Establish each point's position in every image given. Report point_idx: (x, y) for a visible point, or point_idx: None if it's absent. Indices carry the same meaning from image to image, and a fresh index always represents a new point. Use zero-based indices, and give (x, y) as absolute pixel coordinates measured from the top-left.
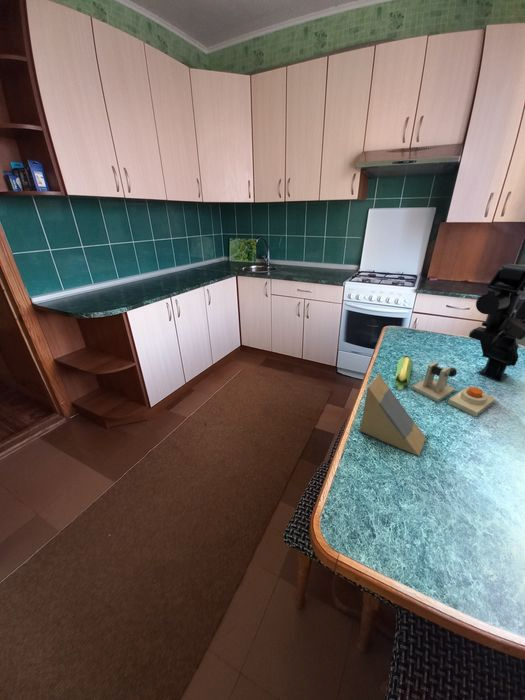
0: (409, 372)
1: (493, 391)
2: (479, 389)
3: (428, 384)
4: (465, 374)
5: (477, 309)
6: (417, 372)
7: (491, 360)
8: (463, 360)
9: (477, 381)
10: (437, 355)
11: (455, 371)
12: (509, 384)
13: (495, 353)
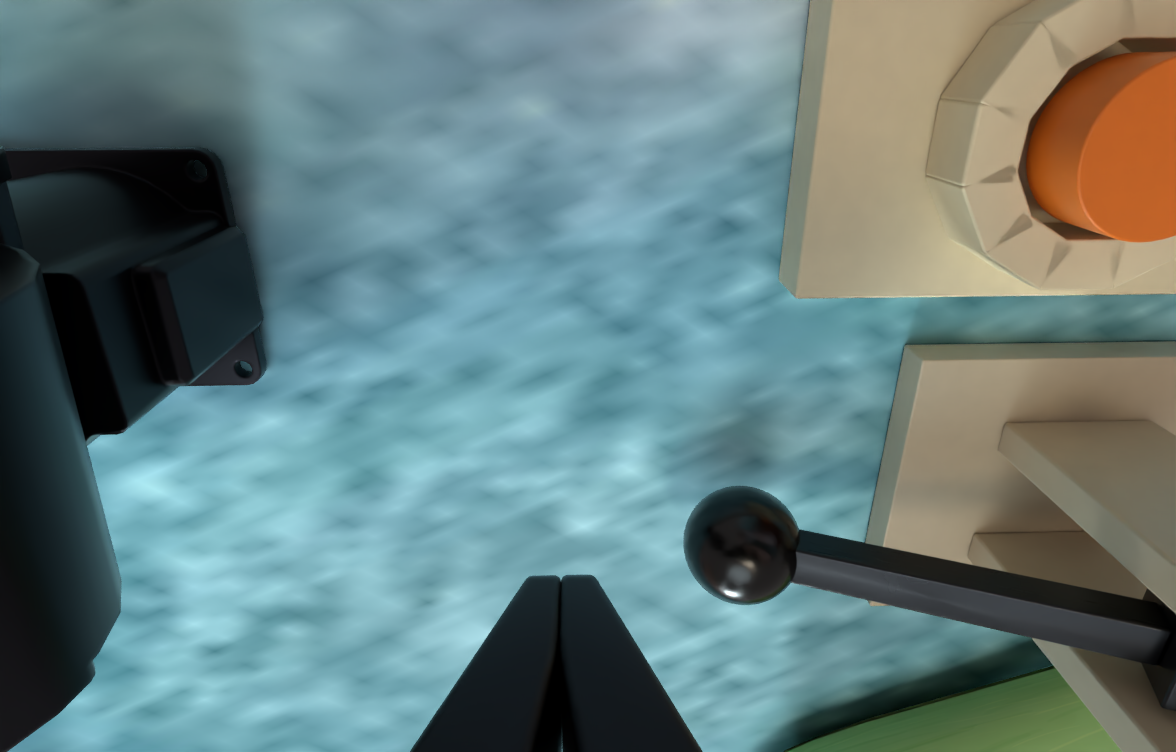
0: (1061, 735)
1: (535, 79)
2: (1117, 126)
3: (1067, 540)
4: (430, 441)
5: None
6: (795, 680)
7: (100, 409)
8: (146, 584)
9: (465, 300)
10: (308, 742)
11: (760, 529)
12: (159, 24)
13: (63, 475)
